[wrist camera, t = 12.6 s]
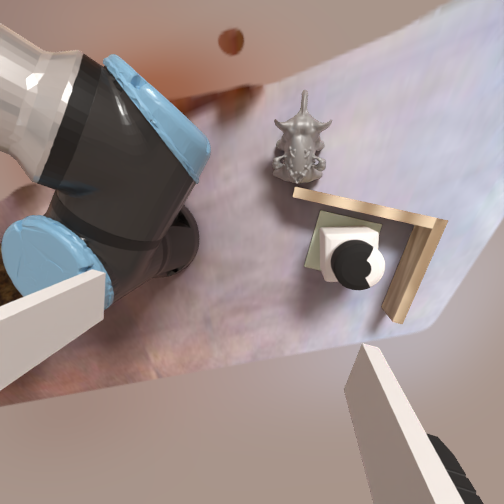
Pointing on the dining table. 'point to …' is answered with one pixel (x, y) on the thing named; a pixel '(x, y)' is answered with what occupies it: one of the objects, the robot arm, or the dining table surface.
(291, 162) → the elephant statuette
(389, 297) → the corner arena
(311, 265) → the pad
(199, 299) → the dining table surface
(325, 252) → the medicine bottle
